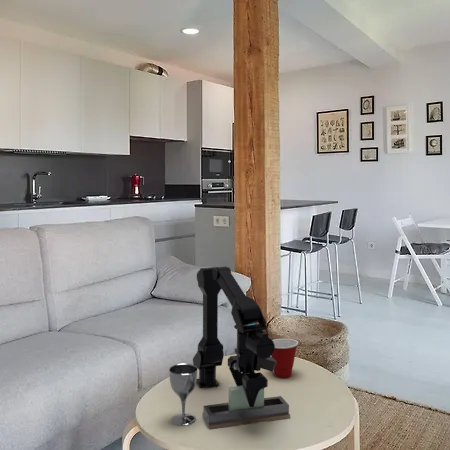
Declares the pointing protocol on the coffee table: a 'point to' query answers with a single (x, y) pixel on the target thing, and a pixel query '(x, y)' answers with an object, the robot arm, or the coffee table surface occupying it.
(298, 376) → the coffee table surface
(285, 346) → the plastic cup
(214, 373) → the robot arm
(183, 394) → the wine glass
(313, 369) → the coffee table surface
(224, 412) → the grey long open box
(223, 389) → the coffee table surface
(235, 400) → the pale green rectangular block
